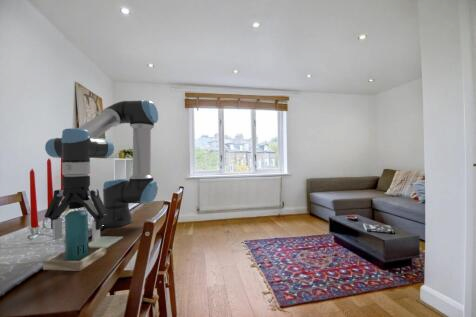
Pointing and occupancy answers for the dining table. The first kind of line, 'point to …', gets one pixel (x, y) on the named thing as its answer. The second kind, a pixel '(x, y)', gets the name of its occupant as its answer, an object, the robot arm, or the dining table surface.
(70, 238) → the beverage bottle
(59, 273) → the dining table surface
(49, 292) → the dining table surface
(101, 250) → the wooden collar
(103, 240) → the rubber mat
